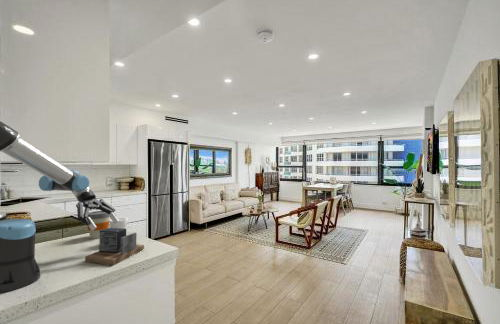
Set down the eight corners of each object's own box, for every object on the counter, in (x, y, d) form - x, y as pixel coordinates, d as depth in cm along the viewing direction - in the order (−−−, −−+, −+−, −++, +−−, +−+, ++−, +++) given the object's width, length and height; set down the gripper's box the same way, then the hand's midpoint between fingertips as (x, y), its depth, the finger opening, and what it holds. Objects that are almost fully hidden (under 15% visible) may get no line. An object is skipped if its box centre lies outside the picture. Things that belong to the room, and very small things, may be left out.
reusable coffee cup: (106, 238, 144) (107, 213, 144) (83, 240, 140) (83, 215, 140) (112, 232, 156) (112, 210, 156) (90, 234, 152) (90, 211, 152)
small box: (127, 248, 118) (127, 228, 118) (117, 253, 111) (117, 231, 112) (109, 247, 120) (109, 227, 120) (98, 252, 113) (98, 230, 114)
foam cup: (110, 240, 139) (110, 218, 139) (128, 238, 143) (128, 217, 143) (108, 245, 131) (108, 222, 131) (127, 243, 134) (127, 220, 135)
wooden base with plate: (113, 265, 104) (114, 241, 104) (85, 261, 108) (85, 239, 108) (144, 249, 124) (144, 229, 124) (118, 247, 127) (119, 228, 127)
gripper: (101, 196, 136) (121, 225, 131) (55, 202, 112) (78, 237, 107) (108, 188, 135) (129, 216, 130) (64, 192, 110) (88, 226, 106)
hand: (106, 225), depth 119 cm, fingers open, 13 cm apart
